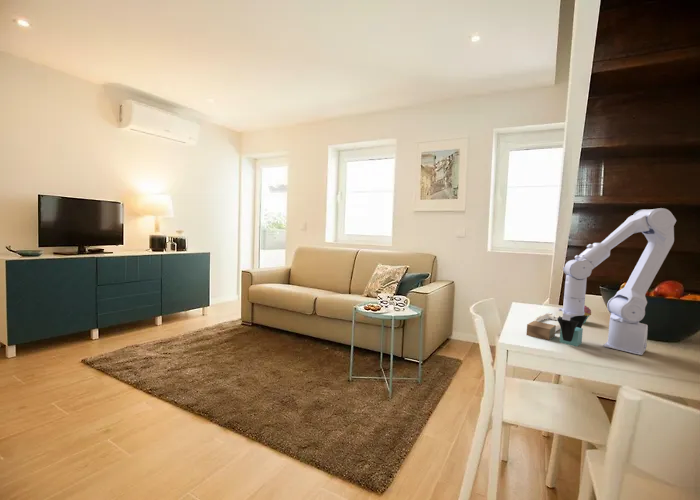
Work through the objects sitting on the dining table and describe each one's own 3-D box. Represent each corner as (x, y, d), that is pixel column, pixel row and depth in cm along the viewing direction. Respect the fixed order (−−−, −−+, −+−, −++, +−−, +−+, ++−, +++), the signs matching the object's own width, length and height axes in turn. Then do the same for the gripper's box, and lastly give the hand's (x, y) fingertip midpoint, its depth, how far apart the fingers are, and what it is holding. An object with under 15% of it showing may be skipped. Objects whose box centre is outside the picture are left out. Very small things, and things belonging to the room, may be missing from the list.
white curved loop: (570, 322, 140) (557, 335, 122) (543, 317, 147) (526, 329, 128) (571, 315, 140) (557, 328, 121) (544, 311, 147) (527, 321, 128)
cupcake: (595, 325, 135) (598, 294, 134) (573, 324, 135) (576, 294, 134) (581, 319, 144) (583, 290, 143) (560, 318, 144) (562, 289, 143)
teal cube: (581, 343, 113) (582, 328, 113) (577, 346, 110) (578, 331, 109) (564, 339, 117) (565, 324, 116) (559, 342, 114) (560, 327, 113)
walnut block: (554, 336, 120) (555, 325, 120) (548, 341, 115) (549, 329, 115) (532, 331, 125) (533, 320, 125) (526, 335, 120) (527, 324, 120)
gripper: (567, 292, 120) (564, 331, 121) (553, 297, 110) (549, 339, 111) (591, 296, 115) (587, 336, 116) (578, 301, 105) (575, 345, 106)
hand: (570, 338), depth 113 cm, fingers open, 7 cm apart
